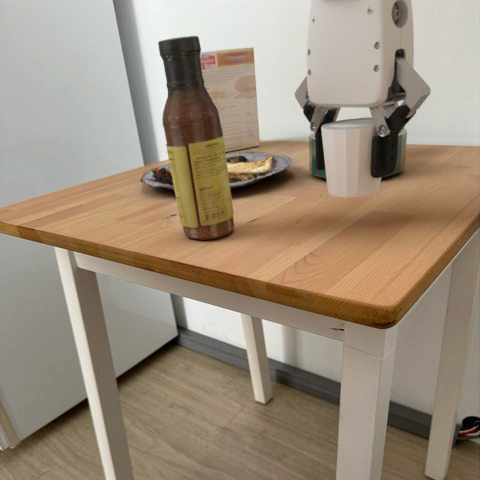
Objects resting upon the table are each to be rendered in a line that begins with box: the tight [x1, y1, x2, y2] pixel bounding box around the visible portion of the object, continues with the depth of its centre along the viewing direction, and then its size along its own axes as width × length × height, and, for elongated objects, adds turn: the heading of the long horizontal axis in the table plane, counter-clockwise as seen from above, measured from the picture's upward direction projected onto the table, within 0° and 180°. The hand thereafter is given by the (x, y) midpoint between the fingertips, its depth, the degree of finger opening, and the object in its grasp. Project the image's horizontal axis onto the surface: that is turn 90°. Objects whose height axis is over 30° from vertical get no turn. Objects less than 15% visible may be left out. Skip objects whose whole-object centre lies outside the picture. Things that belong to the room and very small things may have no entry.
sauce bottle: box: [157, 35, 235, 241], centre depth 51 cm, size 7×6×20 cm
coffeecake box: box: [200, 46, 261, 153], centre depth 101 cm, size 15×7×20 cm, turn 120°
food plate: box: [139, 151, 295, 192], centre depth 78 cm, size 25×23×4 cm
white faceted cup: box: [321, 117, 382, 198], centre depth 50 cm, size 7×7×7 cm
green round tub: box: [308, 128, 408, 180], centre depth 75 cm, size 15×15×6 cm
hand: (353, 169), depth 51 cm, fingers closed on white faceted cup, 6 cm apart
